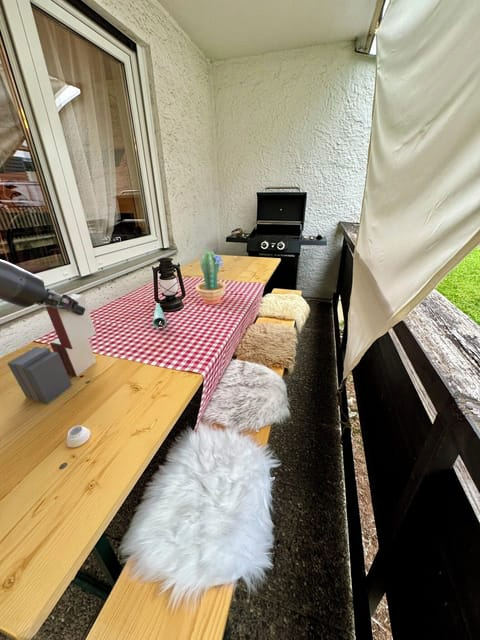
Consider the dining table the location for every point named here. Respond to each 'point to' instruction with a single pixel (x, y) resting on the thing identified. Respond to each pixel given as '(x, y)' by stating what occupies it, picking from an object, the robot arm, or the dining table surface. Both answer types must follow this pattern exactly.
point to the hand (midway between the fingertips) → (77, 311)
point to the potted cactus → (211, 279)
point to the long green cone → (158, 317)
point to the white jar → (77, 436)
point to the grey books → (40, 374)
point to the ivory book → (72, 324)
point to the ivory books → (75, 357)
